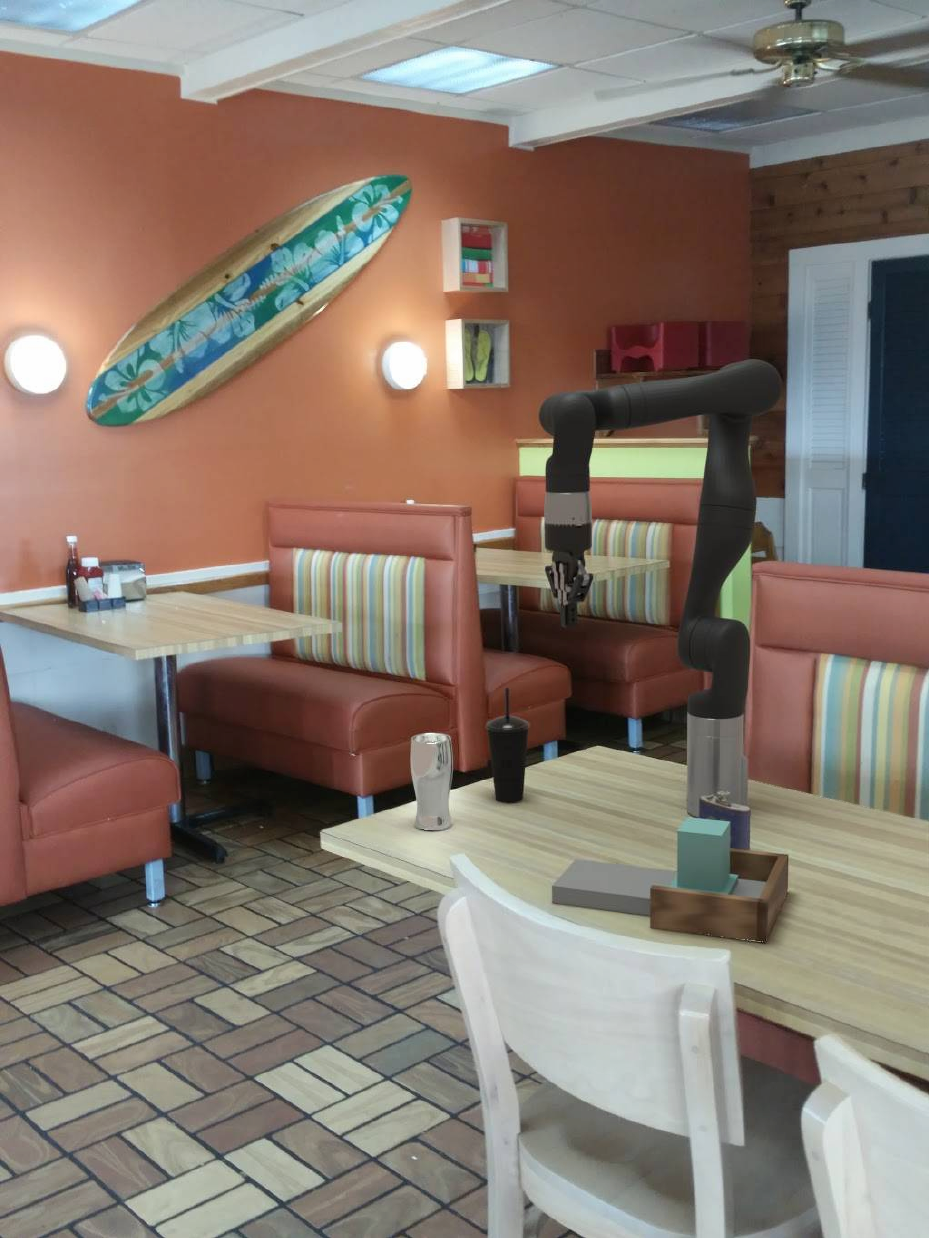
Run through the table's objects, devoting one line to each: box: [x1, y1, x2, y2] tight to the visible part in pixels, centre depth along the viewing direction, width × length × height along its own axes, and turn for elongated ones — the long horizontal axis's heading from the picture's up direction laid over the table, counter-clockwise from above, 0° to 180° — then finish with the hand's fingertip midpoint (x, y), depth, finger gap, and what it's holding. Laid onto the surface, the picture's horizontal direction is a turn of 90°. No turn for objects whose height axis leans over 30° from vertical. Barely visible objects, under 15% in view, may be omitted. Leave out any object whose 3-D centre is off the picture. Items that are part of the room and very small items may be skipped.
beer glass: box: [410, 732, 454, 831], centre depth 213 cm, size 7×7×15 cm
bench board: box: [551, 858, 766, 917], centre depth 180 cm, size 28×11×2 cm, turn 68°
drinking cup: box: [485, 687, 531, 804], centre depth 225 cm, size 8×8×20 cm
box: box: [649, 848, 789, 943], centre depth 176 cm, size 15×18×6 cm
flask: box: [699, 791, 752, 850], centre depth 195 cm, size 9×3×11 cm, turn 40°
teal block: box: [669, 816, 738, 895], centre depth 177 cm, size 8×8×9 cm
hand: (569, 626), depth 208 cm, fingers closed
